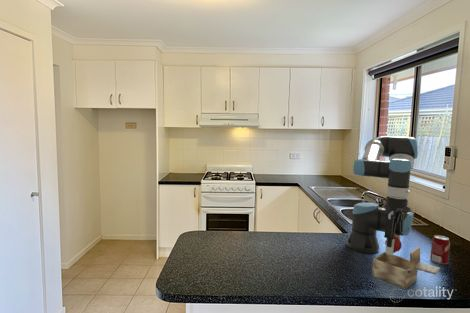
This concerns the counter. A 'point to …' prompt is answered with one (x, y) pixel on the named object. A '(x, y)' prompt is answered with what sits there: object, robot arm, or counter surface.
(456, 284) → the counter surface
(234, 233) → the counter surface
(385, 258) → the wooden box
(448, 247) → the soda can
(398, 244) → the onion
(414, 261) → the lid
